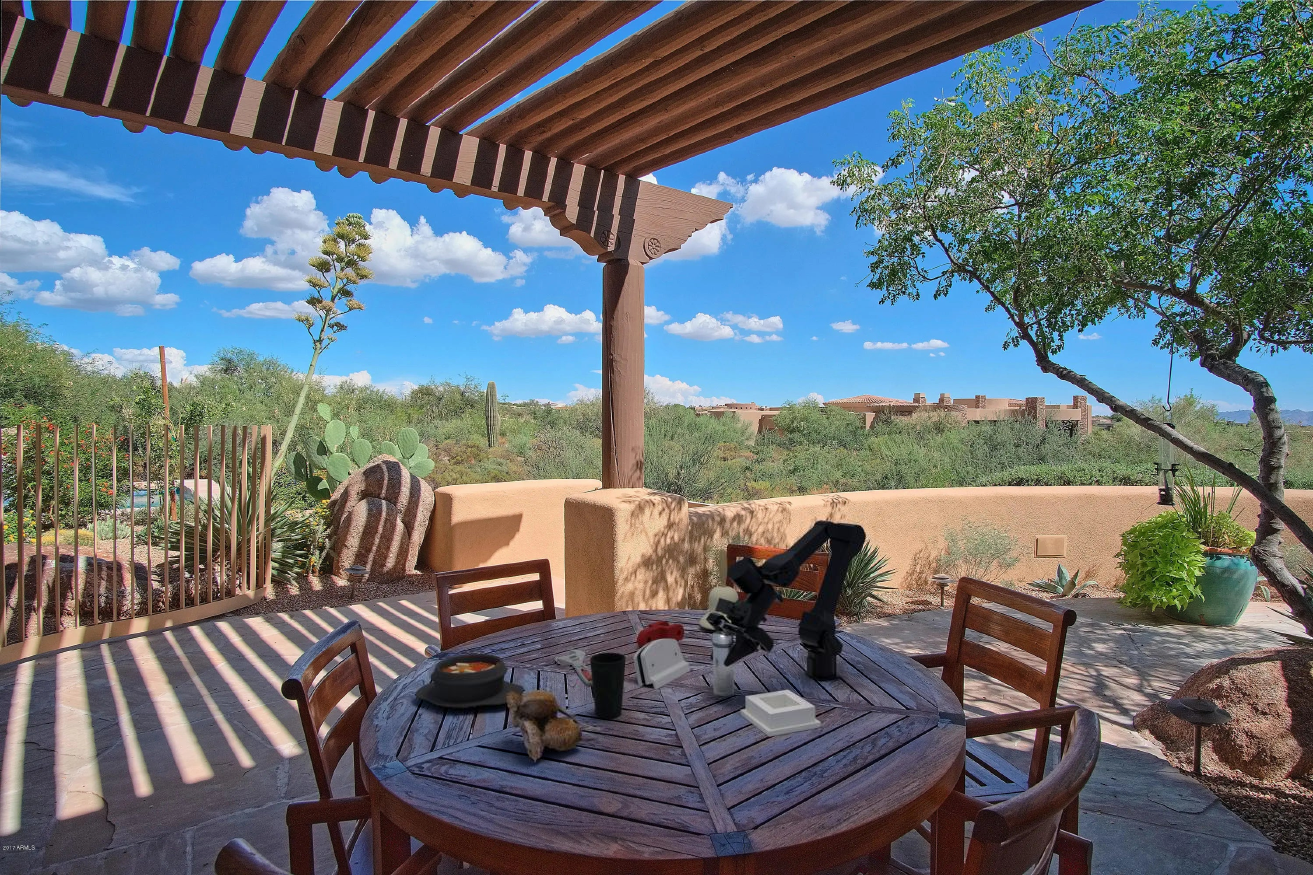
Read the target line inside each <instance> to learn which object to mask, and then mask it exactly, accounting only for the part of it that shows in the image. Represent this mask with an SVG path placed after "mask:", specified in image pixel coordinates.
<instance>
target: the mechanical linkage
mask: <svg viewBox="0 0 1313 875" xmlns="http://www.w3.org/2000/svg"><path fill="white" fill-rule="evenodd" d="M647 627H648V628H645V629H641V630H640V631H639V632H638V635H637V637H636V638H637V639H636V644H637V646H638V647H639V648H640V647H641V648H642V647H643V646H644V645H646V644H648V643H650V642H652V641H655V640H659V639H675V640H676V641H678V642H680V641H682V640H683V638H684V635H685V628H684V626H683V624H681V623H676V622H675V623H672V624H670V623H669V622H668V621H664V620H658V621H655V622H653V623H650V624H648V626H647ZM681 639H682V640H681ZM679 640H680V641H679Z"/></svg>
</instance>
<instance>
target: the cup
mask: <svg viewBox="0 0 1313 875" xmlns="http://www.w3.org/2000/svg"><path fill="white" fill-rule="evenodd" d="M626 661H627V660H626V655H625V654H622V653H618V652H601V653H596V654H593V655H592V656H591V657H590V658H589V664H590V671H591V674H592V684H593V685H592V693H593V701H594V702H593V703H594V711H595V717H597V718H598V719H602V720H612V719H616V718H619V717H620V716H621V715H622V713H623V712H622V711H623V710H622V709H623V696H624V683H625V674H626V671H625V670H626Z"/></svg>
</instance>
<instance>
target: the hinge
mask: <svg viewBox="0 0 1313 875" xmlns="http://www.w3.org/2000/svg"><path fill="white" fill-rule="evenodd" d="M633 664H634V668H635V674H636V678H637V685H638V686H639V687H642V686H644V685H651V684H652V686H653V688H654V690H657V689H659V688H661V687H663V686H665V685H667V684H668V683H670V682H673V681H674V680H675V679H677V678H679V677H681V676H683V675H685V674H687V673H689V672H690V671H691V670H692V669H691V666H690V663H689V662H687V661H686V660H685V659H684V656H683V654H682V650H681V648H680V646H679V643H678V642H677V641H676V640H675V639H659V640H655V641H652V642H650V643H648V644H646V645H644V646H643V647H642V648H640V647H639V649H638V650H637V651H636V653H635V654H634V655H633Z"/></svg>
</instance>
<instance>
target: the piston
mask: <svg viewBox="0 0 1313 875" xmlns="http://www.w3.org/2000/svg"><path fill="white" fill-rule="evenodd" d="M734 641H735V640H734V633H732V632H728V631H717V632H715V631H714V632H712V640H711V645H712V650H713V661H712V667H713V668H712V673H713V675H712V676H713V693H714V694H715V695H716V696H721V697H726V696H727V697H728V696H732V695H733V694H735V663H733V664H732V665H730V666H728V667H726V666H725V665H724V662H725V660H726V658H727V656H728V654H729V652H730V651H731V649H732V647H733V646H734V644H735V642H734Z"/></svg>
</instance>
